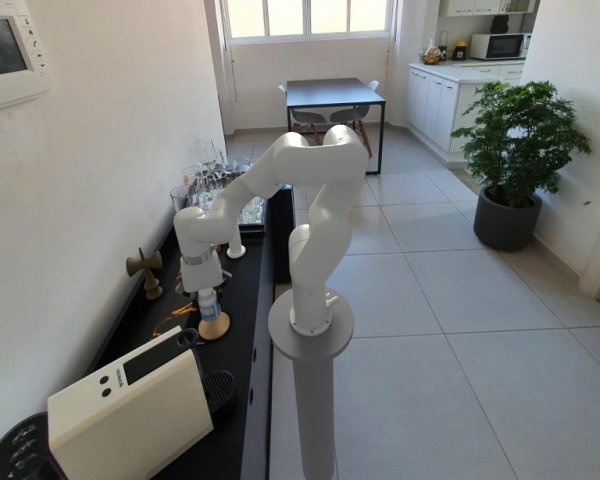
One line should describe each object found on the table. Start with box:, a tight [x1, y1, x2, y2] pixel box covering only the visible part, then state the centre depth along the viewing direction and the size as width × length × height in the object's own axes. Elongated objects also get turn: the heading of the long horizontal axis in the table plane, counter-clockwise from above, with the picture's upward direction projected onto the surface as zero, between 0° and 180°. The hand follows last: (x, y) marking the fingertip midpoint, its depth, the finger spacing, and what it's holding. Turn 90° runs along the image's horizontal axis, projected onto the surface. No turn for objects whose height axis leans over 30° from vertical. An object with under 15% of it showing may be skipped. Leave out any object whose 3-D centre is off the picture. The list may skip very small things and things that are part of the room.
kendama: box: [125, 246, 163, 301], centre depth 100 cm, size 6×10×20 cm, turn 110°
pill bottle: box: [197, 287, 222, 322], centre depth 88 cm, size 6×5×10 cm
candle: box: [226, 221, 246, 259], centre depth 116 cm, size 7×7×25 cm
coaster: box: [198, 311, 231, 341], centre depth 92 cm, size 9×9×1 cm
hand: (208, 302), depth 88 cm, fingers closed on pill bottle, 5 cm apart
